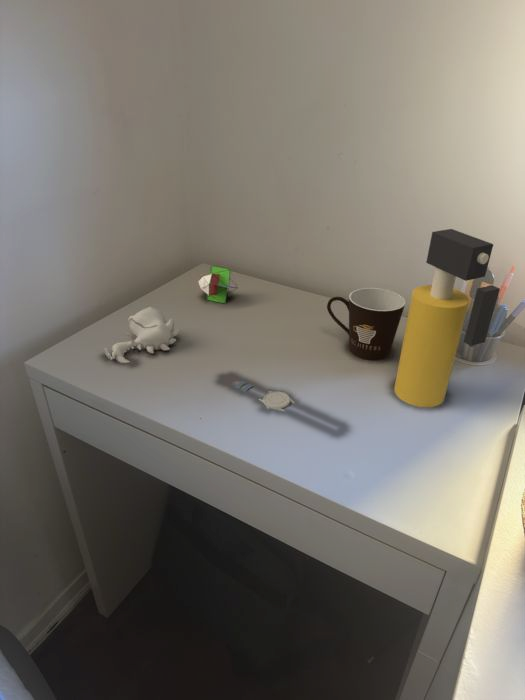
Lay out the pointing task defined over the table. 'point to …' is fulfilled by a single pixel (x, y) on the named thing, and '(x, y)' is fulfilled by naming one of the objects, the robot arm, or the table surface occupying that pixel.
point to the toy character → (146, 334)
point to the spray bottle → (438, 318)
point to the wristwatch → (271, 398)
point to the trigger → (481, 315)
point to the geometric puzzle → (216, 284)
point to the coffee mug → (371, 321)
